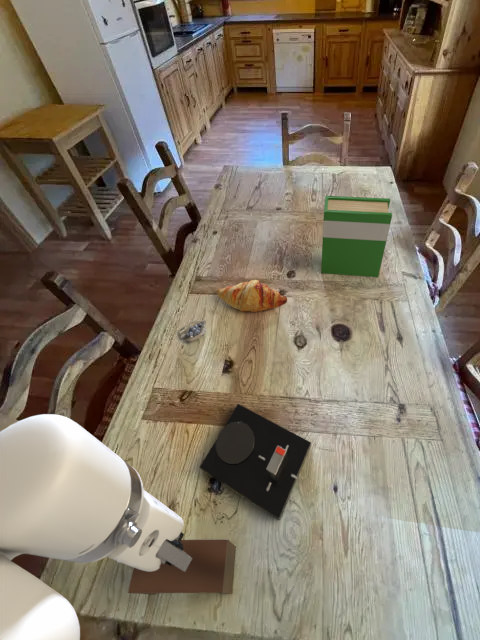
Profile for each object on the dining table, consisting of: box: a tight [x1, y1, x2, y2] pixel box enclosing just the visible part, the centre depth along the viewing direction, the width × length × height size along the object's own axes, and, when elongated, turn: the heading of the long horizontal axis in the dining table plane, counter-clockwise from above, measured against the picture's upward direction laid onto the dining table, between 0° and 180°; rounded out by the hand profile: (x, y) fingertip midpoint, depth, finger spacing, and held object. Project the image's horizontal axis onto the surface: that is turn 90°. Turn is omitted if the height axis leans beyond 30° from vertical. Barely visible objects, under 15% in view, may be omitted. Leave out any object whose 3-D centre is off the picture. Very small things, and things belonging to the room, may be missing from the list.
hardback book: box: [320, 195, 393, 278], centre depth 100 cm, size 18×7×24 cm, turn 83°
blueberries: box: [178, 319, 207, 344], centre depth 93 cm, size 7×8×2 cm
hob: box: [199, 403, 312, 521], centre depth 70 cm, size 14×18×3 cm
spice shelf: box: [127, 538, 237, 595], centre depth 55 cm, size 6×14×10 cm, turn 90°
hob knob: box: [266, 446, 288, 481], centre depth 65 cm, size 4×2×5 cm, turn 153°
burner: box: [215, 422, 255, 464], centre depth 70 cm, size 8×8×1 cm
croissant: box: [216, 279, 288, 313], centre depth 98 cm, size 21×10×8 cm, turn 80°
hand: (156, 534), depth 43 cm, fingers closed on spice bottle, 4 cm apart
